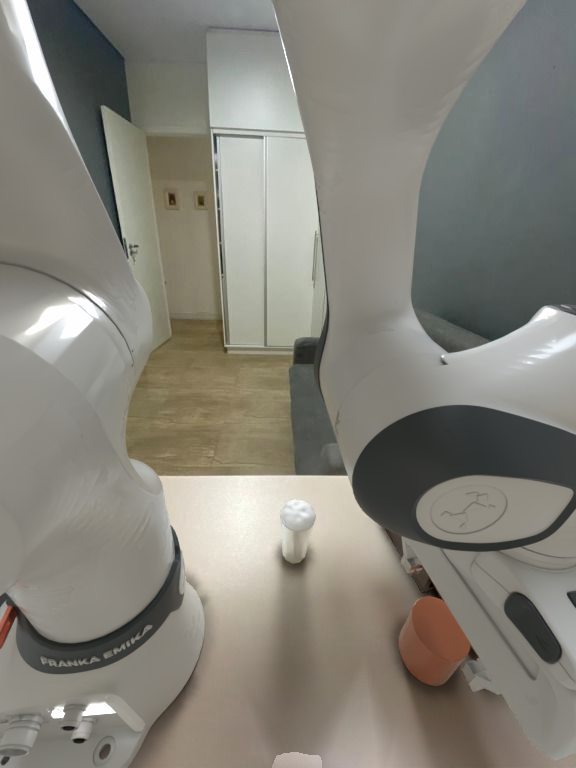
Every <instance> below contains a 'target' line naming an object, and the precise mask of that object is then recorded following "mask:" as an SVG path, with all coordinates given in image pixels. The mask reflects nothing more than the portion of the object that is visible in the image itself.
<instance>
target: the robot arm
mask: <svg viewBox="0 0 576 768" xmlns="http://www.w3.org/2000/svg"><path fill="white" fill-rule="evenodd" d="M527 2H528V0H271V4H272V8H273V13H274V16H275V20H276V25H277V27H278V31H279V35H280V36H279V37H280V39H281V43H282V48H283V50H284V51H283V52H284V55H285V59H286V63H287V67H288V71H289V75H290V80H291V83H292V87H293V92H294V95H295V99H296V103H297V108H298V112H299V115H300V120H301V124H302V128H303V132H304V136H305V141H306V146H307V149H308V154H309V157H310V163H311V168H312V173H313V179H314V180H313V181H314V190H315V197H316V207H317V213H318V214H317V215H318V224H319V234H320V236H319V237H320V244H321V245H320V246H321V255H322V265H323V275H324V284H325V296H326V308H325V309H326V310H325V318H324V322H323V325H322V329H321V333H320V336H319V339H318V343H317V346H316V349H315V353H314V359H313V377H314V381H315V385H316V387H317V389H318V391H319V395H320V396H321V398H322V401H323V404H325V408H326V412H327V415H328V417H329V420H330V424H331V427H332V431H333V434H334V438H335V441H336V444H337V447H338V450H339V453H340V456H341V459H342V463H343V467H344V469H345V472H346V475H347V478H348V481H349V484H350V486H351V489H352V494H353V497H354V500H355V501H356V503H357V505H358V507H359V508H360V510H362V512H363V514H365V515H367V517H368V518H369V519H371V520H372V521H374V522H375V523H377V524H378V525H379V526H380V527H382V528H386V529H388V530H390V531H392V532H394V533H396V534H398V535H400V536H402V546H403V553H404V555H403V557H401V558H400V559H401V560H400V564H401V565H402V567H403V569H404V571H405V573H406V574H407V576H409V577H410V576H412V574H419V573H421V572H422V570H423V569H422V568H423V567H424V569H425V570H426V572H427V574H428V575H429V577H430V579H431V580H432V582H433V583H434V585H435V587H436V588H437V590H438V592H439V593H440V595H441V596H442V598H443V600H444V601H445V603H446V605H447V606H448V608H449V609H450V611H451V613H452V614H453V616H454V618H455V619H456V621H457V623H458V624H459V626H460V627H461V629H462V631H463V632H464V634H465V636H466V637H467V639H468V640H469V642H470V644H471V645H472V647H473V649H474V650H475V652H476V653H477V654H476V655H477V657H478V658H476V659H475V660H474V659H471V660H468V661H466V662H465V663H464V664H463V667H461V668H460V671H461V673H462V674H463V676H464V678H465V679H466V682H467V684H468V685H469V686H468V687H470V689H471V691H472V693H475V692H479V691H481V690H483V689H485V690H487V691H489V692H491V693H493V694H495V695H497V696H500V695H501V696H502V697H503V699H504V700H505V702H506V704H507V706H508V707H509V709H510V711H511V713H512V714H513V716H514V717H515V719H516V720H517V722H518V724H519V725H520V727H521V729H522V730H523V732H524V733H525V736H526V738H527V739H528V740H529V741H530V743H531V745H532V746H533V747H534V748H535V749H537V750H538V751H539V752H540V753H542V754H543V755H545V756H546V757H548V758H549V759H550V760H552V761H557V762H558V761H561V760H562V759H566V758H567V757H571V756H572V755H574V754H576V304H569V303H568V304H567V303H566V304H565V303H560V304H548V305H543V306H542V307H541V308H540V309H539V310H538V311H536V312H535V313H534V315H533V316H532V317H531V318H530V319H529V321H528V322H527V323H525V324H524V325H523V326H520V327H519V328H517V329H516V330H513V331H511V332H510V333H508V334H505V335H504V336H501V337H500V338H497V339H494V340H492V341H490V342H487V343H484V344H482V345H478V346H475V347H471V348H468V349H465V350H464V349H463V350H460V351H454V352H448V351H447V350H445V349H444V348H443V347H441V345H439V344H438V343H437V342H435V341H434V340H433V339H432V338H431V337H430V336H429V335H428V333H427V332H426V331H425V329H424V327H423V326H422V324H421V322H420V321H419V319H418V317H417V315H416V312H415V310H414V306H413V303H412V286H413V275H414V274H413V273H414V261H415V251H416V250H415V249H416V239H417V236H416V235H417V225H418V212H419V200H420V192H421V185H422V181H423V177H424V173H425V169H426V166H427V163H428V159H429V157H430V154H431V151H432V149H433V147H434V144H435V142H436V140H437V138H438V136H439V134H440V131H441V130H442V128H443V126H444V124H445V122H446V120H447V118H448V116H449V115H450V113H451V111H452V110H453V108H454V107H455V105H456V103H457V101H458V100H459V98H460V97H461V95H462V94H463V92H464V90H465V88H466V87H467V85H468V84H469V82H470V81H471V80H472V78H473V76H474V75H475V74H476V72H477V70H478V69H479V67H480V66H481V64H482V63H483V61H484V60H485V59H486V57H487V56H488V54H489V53H490V51H491V50H492V49H493V47H494V46H495V45H496V44H497V42H498V40H499V39H500V38H501V36H502V35H503V33H504V32H505V31H506V29H507V28H508V27H509V26H510V25H511V23H512V21H513V20H514V19H515V17H517V15H518V13H519V12H520V11H521V9H522V8H523V7H524V5H525V4H526V3H527ZM39 39H40V38H39V37H38V33H37V29H36V27H35V24H34V21H33V18H32V14H31V11H30V9H29V5H28V2H27V0H0V768H129V767H130V765H132V763H133V761H134V759H135V758H136V756H137V755H138V753H139V751H140V750H141V747H142V746H143V744H144V741H145V739H146V738H147V735H148V734H149V732H150V729H151V728H152V727H153V725H154V724H155V722H156V721H157V720H158V718H160V716H161V715H162V714H163V713H164V712H165V711H166V710H167V709H168V707H169V706H170V705H171V704H172V703H173V702H174V701H175V699H177V697H178V696H179V695H180V693H181V692H182V690H183V689H184V687H185V686H186V685H187V683H188V681H189V680H190V678H191V676H192V674H193V672H194V670H195V667H196V666H197V663H198V660H199V658H200V655H201V652H202V648H203V644H204V638H205V629H206V621H205V620H206V618H205V611H204V607H203V603H202V600H201V598H200V596H199V594H198V592H197V591H196V589H195V588H194V587H193V585H191V584H190V582H188V581H187V569H186V564H185V558H184V554H183V550H182V549H181V544H180V541H179V538H178V534H177V532H176V530H175V529H174V527H173V525H172V524H171V521H170V517H169V511H168V505H167V502H166V497H165V491H164V487H163V482H162V480H161V478H160V477H159V474H158V473H157V472H156V471H155V470H154V469H153V468H152V467H150V465H148V464H146V463H145V462H143V461H141V460H138V459H134V458H132V457H131V458H130V457H129V454H128V448H127V442H126V441H127V437H126V435H127V434H126V433H127V431H126V430H127V422H128V415H129V409H130V402H131V400H132V398H133V393H134V391H135V389H136V387H137V384H138V383H139V380H140V378H141V376H142V373H143V372H144V369H145V367H146V365H147V362H148V361H149V358H150V355H151V353H152V349H153V343H154V320H153V319H154V318H153V312H152V307H151V303H150V300H149V298H148V295H147V293H146V291H145V290H144V287H143V286H142V285H141V284H140V282H139V281H138V279H137V278H136V277H135V275H134V273H133V270H132V268H131V265H130V263H129V260H128V258H127V255H126V252H125V251H124V248H123V245H122V243H121V240H120V237H119V236H118V234H117V232H116V229H115V227H114V224H113V222H112V220H111V218H110V215H109V213H108V211H107V209H106V207H105V205H104V203H103V200H102V198H101V195H100V194H99V191H98V190H97V187H96V185H95V183H94V181H93V179H92V176H91V174H90V172H89V170H88V168H87V166H86V163H85V161H84V158H83V156H82V153H81V152H80V149H79V147H78V144H77V143H76V140H75V137H74V135H73V133H72V131H71V129H70V126H69V123H68V120H67V118H66V115H65V112H64V110H63V108H62V105H61V103H60V102H61V101H60V100H59V96H58V93H57V91H56V87H55V85H54V82H53V79H52V77H51V76H52V75H51V73H50V71H49V68H48V65H47V61H46V59H45V56H44V52H43V49H42V46H41V42H40V40H39ZM386 529H385V530H386ZM438 592H437V593H438ZM107 747H110V751H109V753H108V755H107V756H106V757H105V758H102V755H103V752H104V751H105V750H106V748H107Z"/></svg>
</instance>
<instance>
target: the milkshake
mask: <svg viewBox="0 0 576 768" xmlns="http://www.w3.org/2000/svg"><path fill="white" fill-rule="evenodd" d="M279 518H280V529H281V530H280V531H281V554H282V557H283V558H284V560H285V561H286V562H287V563H288V562H289V563H290V564H292V565H294V564H299V563H301V562H302V561H303V560H304V559H305V557H306V555H307V551H308V546H309V542H310V539H311V535H312V532H313V530H314V529H313V528H314V526H315V522H316V519H317V515H316V511H315V509H314V507H313V506H312V505H311V504H310V503H309V502H308V501H305V500H303V499H295V498H294V499H290V500H288V501H286V502H285V503H284V504H283V505H282V506H281V508H280V513H279Z"/></svg>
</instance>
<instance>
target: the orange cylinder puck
mask: <svg viewBox="0 0 576 768" xmlns="http://www.w3.org/2000/svg"><path fill="white" fill-rule="evenodd" d="M397 644H398V649H399V654H400V657H401V659H402V662H403V664H404V665H405V667H406V668H407V669H408V671H409V672H410V674H411V675H412V676H413V677H415V678H416V679H417V680H419V682H422V683H423V684H426V685H428V686H431V687H432V686H433V687H438V686H442V685H444V684H445V683H447V682H448V680H450V678H451V677H452V676H453V674H454V673H455V671H456V670H457V669H458V668H459V666H460V665H461V664H462V662H463V661H464V660H465V659H466V657H467V656H468V655H469V653H470V651H471V644H470V642H469V640H468V639H467V637H466V636H465V634H464V632H463V631H462V629H461V627H460V626H459V624H458V623H457V621H456V619H455V618H454V616H453V614H452V613H451V611H450V609H449V608H448V606H447V605H446V603H445V601H443V600H442V599H441V598H439V597H435V596H429V595H428V596H422V597H420V598H419V599H417V600H416V601H415V602H414V604H413V606H412V607H411V610H410V612H409V613H408V616H407V618H406V620H405V622H404V624H403V626H402V627H401V630H400V632H399V634H398V643H397Z"/></svg>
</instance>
